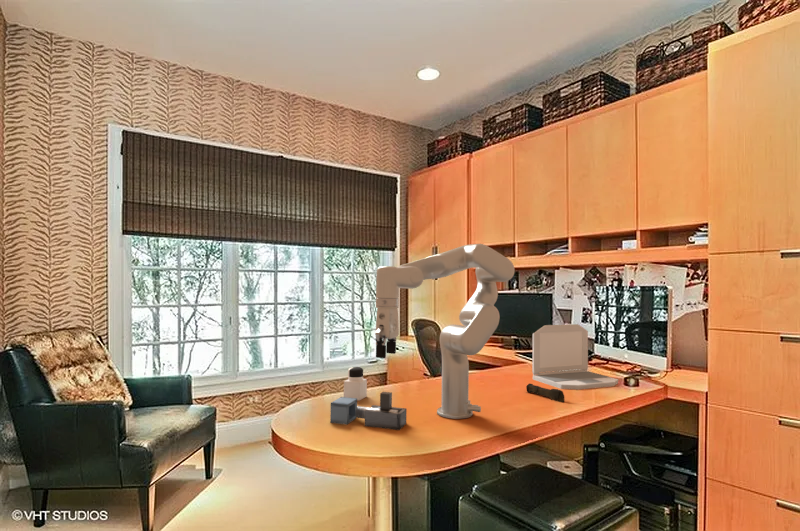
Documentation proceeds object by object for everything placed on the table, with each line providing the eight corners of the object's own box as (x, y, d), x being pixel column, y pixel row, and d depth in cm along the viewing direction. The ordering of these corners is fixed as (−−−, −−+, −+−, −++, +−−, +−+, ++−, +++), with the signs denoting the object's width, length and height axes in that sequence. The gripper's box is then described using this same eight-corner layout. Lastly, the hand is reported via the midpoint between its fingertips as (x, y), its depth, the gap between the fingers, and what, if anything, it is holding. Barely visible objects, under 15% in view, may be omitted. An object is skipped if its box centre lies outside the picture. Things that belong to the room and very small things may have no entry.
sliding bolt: (399, 420, 151) (399, 392, 151) (395, 423, 148) (395, 395, 148) (359, 416, 155) (360, 389, 156) (355, 419, 152) (355, 391, 152)
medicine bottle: (366, 396, 186) (367, 366, 187) (359, 400, 180) (360, 370, 180) (350, 394, 189) (351, 365, 189) (343, 399, 182) (343, 368, 182)
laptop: (567, 391, 200) (567, 330, 201) (532, 380, 223) (532, 325, 224) (624, 386, 213) (624, 328, 213) (585, 375, 235) (586, 323, 236)
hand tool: (525, 393, 197) (525, 382, 197) (532, 392, 198) (532, 381, 198) (558, 404, 180) (558, 392, 180) (566, 403, 181) (566, 391, 181)
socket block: (356, 417, 158) (357, 398, 158) (346, 424, 150) (347, 404, 151) (341, 415, 160) (341, 396, 160) (330, 422, 152) (330, 402, 152)
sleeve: (406, 423, 152) (406, 408, 152) (399, 430, 145) (400, 414, 145) (372, 419, 156) (372, 405, 156) (364, 426, 149) (364, 410, 149)
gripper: (389, 305, 143) (387, 360, 142) (406, 302, 159) (404, 352, 158) (366, 304, 145) (365, 358, 144) (385, 302, 161) (384, 351, 161)
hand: (386, 355), depth 151 cm, fingers open, 9 cm apart
